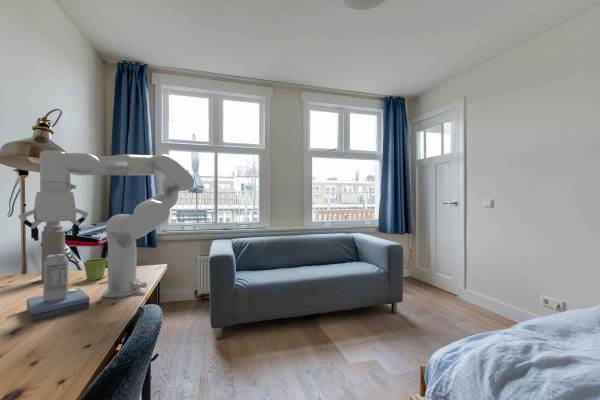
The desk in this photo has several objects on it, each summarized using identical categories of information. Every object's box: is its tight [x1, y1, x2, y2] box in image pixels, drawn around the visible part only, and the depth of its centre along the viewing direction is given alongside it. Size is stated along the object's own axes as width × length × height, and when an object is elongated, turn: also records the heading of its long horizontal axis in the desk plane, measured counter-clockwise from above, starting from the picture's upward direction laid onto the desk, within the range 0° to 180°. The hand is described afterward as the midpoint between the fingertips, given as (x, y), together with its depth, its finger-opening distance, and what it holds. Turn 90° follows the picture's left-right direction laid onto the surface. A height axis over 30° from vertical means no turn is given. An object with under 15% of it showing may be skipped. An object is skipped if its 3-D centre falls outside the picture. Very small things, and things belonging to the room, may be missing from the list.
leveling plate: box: [26, 288, 91, 315], centre depth 90 cm, size 14×14×2 cm
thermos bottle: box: [41, 221, 66, 282], centre depth 123 cm, size 8×8×28 cm
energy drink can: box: [42, 253, 69, 303], centre depth 89 cm, size 6×6×15 cm
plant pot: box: [82, 257, 108, 281], centre depth 124 cm, size 9×9×9 cm
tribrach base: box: [26, 301, 90, 323], centre depth 90 cm, size 14×14×2 cm
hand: (56, 238), depth 89 cm, fingers open, 9 cm apart
